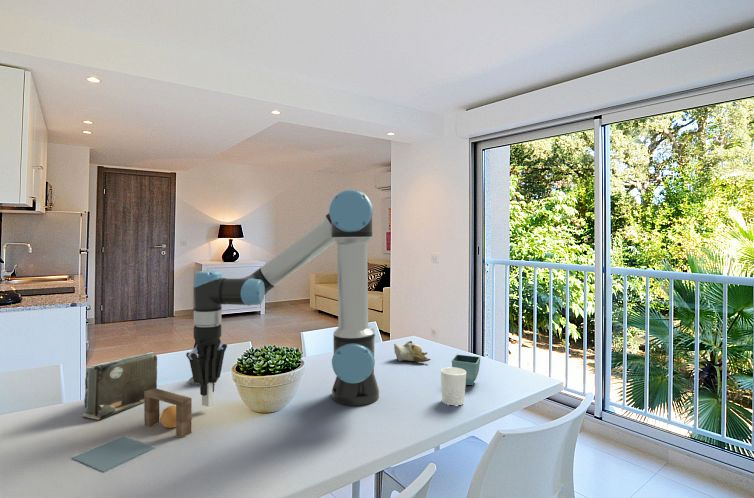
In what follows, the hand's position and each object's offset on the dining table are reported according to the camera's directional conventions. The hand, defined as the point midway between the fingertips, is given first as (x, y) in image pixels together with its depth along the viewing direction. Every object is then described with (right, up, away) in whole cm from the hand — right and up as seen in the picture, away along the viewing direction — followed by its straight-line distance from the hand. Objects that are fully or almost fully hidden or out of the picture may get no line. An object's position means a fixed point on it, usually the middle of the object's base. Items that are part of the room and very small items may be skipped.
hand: (207, 404), depth 124 cm
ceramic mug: (-10, -1, +24) cm, 26 cm away
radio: (-27, -2, +4) cm, 27 cm away
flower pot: (+81, -3, +28) cm, 86 cm away
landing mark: (-12, -2, -24) cm, 27 cm away
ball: (-5, +1, -10) cm, 11 cm away
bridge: (-6, -2, -12) cm, 13 cm away
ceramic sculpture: (+64, -2, +54) cm, 84 cm away
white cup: (+73, -3, +10) cm, 74 cm away
